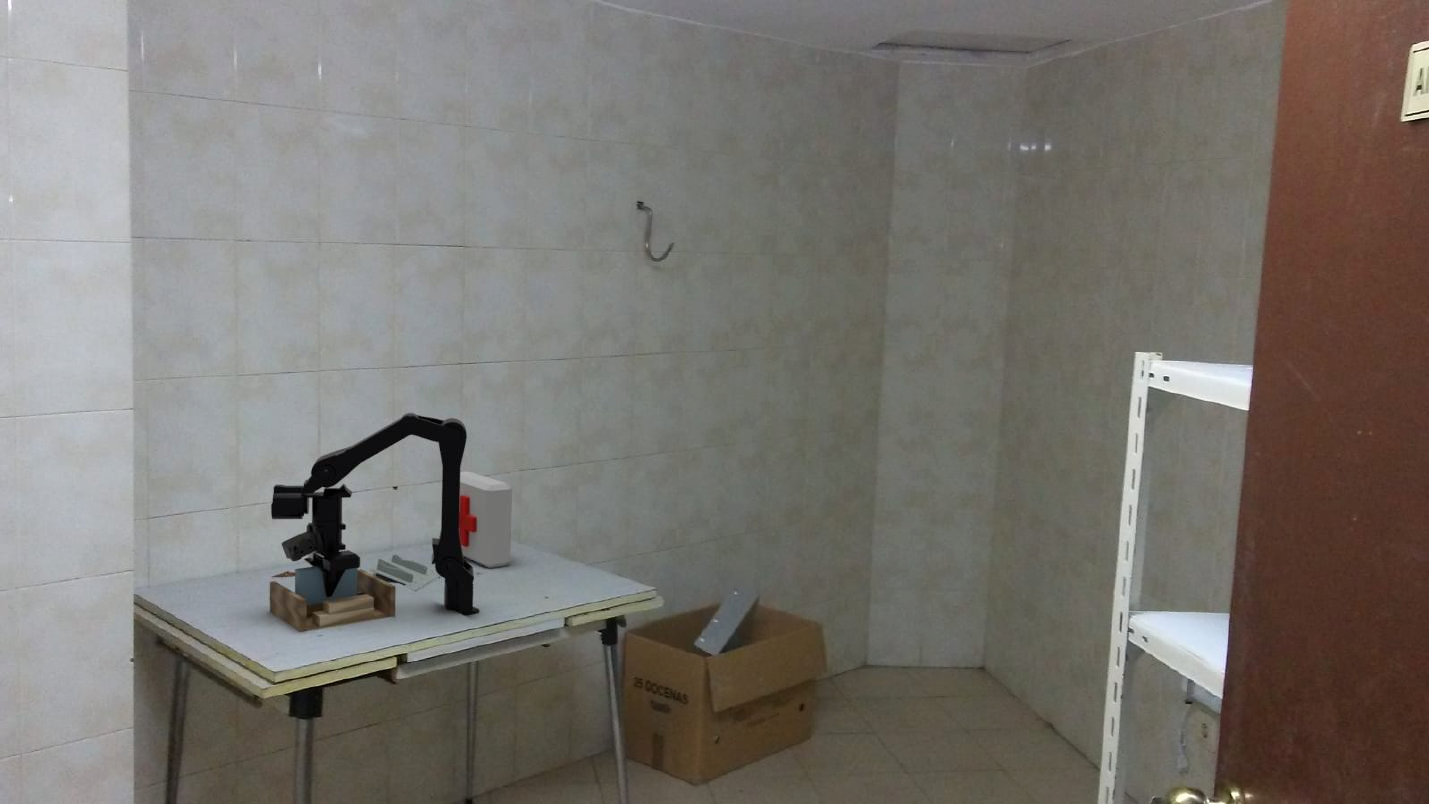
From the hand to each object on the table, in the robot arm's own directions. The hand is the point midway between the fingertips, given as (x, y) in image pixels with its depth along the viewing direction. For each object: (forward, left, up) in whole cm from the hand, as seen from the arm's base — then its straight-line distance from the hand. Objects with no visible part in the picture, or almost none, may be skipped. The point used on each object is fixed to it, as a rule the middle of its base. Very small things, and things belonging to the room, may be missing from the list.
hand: (326, 595), depth 235 cm
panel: (0, 0, -3) cm, 3 cm away
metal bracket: (+16, -24, -5) cm, 29 cm away
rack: (-3, 0, -4) cm, 5 cm away
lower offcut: (-8, 0, -3) cm, 9 cm away
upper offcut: (-8, -1, -1) cm, 8 cm away
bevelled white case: (+25, -48, -4) cm, 54 cm away
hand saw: (+30, +3, -5) cm, 30 cm away
